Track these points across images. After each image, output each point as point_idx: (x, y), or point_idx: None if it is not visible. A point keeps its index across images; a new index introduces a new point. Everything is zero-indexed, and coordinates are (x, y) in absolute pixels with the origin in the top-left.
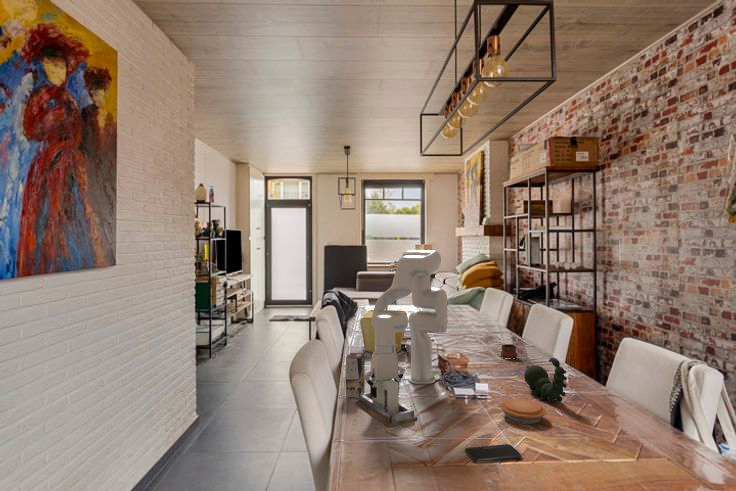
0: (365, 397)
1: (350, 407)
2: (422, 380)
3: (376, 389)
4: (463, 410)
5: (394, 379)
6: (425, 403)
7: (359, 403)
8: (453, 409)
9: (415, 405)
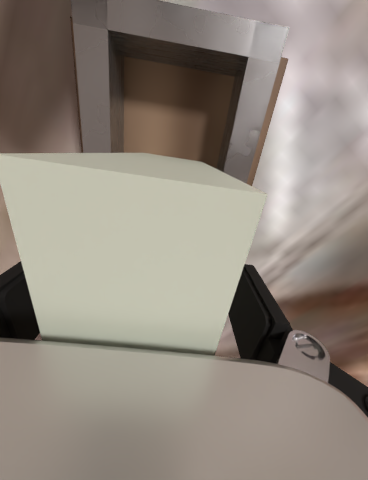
0: (91, 110)
1: (25, 65)
2: None
3: (35, 335)
4: (358, 357)
5: (280, 352)
6: (349, 266)
7: (77, 82)
8: (349, 341)
9: (304, 258)
